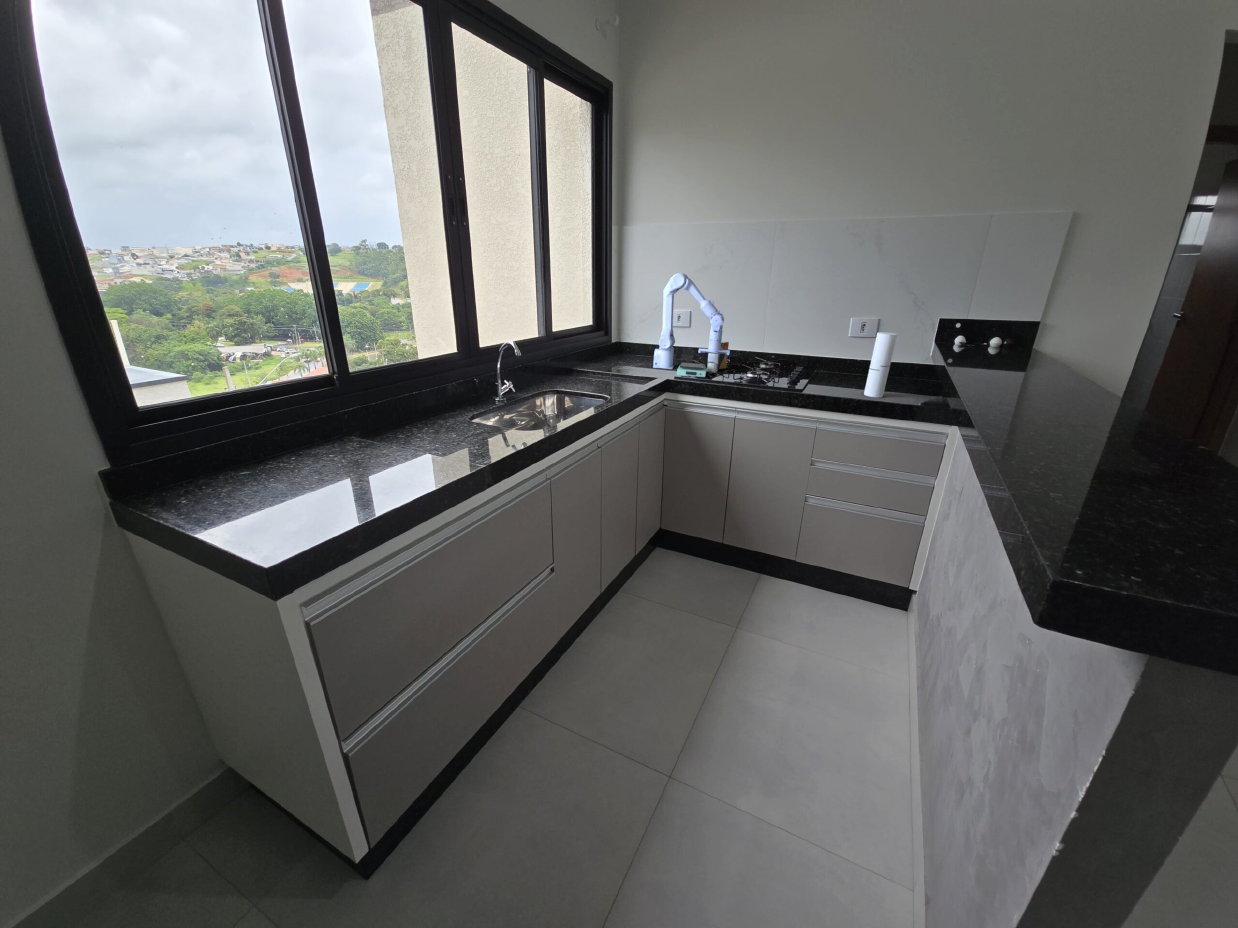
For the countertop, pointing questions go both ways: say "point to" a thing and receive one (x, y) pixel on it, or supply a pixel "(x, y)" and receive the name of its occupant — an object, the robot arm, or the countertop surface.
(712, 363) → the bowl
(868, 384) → the cylindrical container
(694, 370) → the scale
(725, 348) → the small box
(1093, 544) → the countertop surface
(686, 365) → the scale pan
